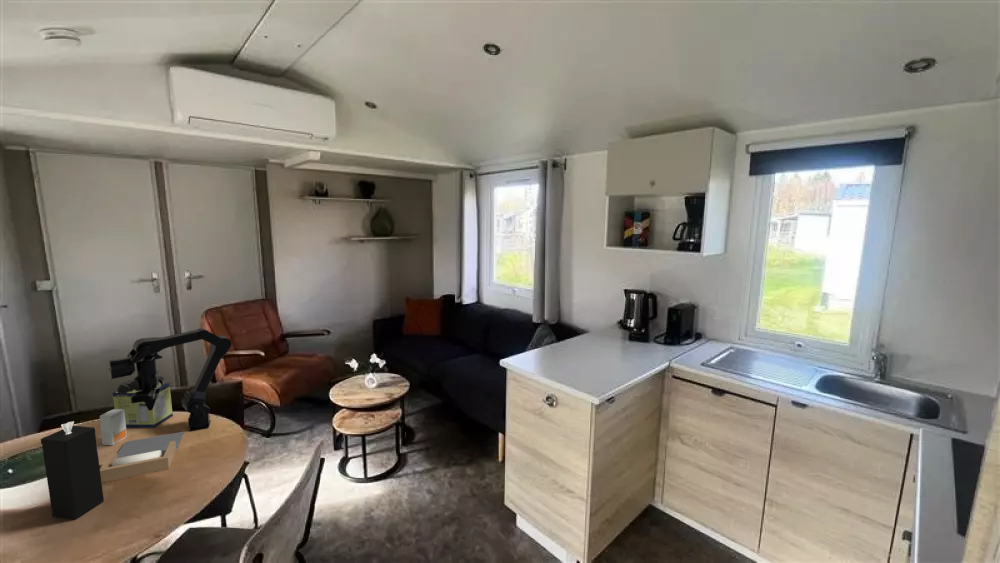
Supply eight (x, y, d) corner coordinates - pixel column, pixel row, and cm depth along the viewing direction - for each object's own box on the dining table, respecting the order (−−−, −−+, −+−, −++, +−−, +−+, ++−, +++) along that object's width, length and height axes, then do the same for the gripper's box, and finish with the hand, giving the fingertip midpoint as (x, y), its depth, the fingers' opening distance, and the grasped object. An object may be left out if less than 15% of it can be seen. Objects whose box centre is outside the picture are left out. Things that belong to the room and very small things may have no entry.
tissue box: (104, 501, 125) (93, 417, 121) (75, 520, 117) (63, 430, 113) (81, 499, 126) (70, 415, 122) (51, 517, 118) (38, 428, 114)
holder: (183, 433, 164) (182, 423, 164) (168, 468, 142) (167, 457, 141) (125, 443, 156) (124, 433, 155) (99, 483, 133) (98, 471, 133)
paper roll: (162, 457, 146) (160, 446, 145) (160, 468, 143) (157, 457, 141) (118, 465, 141) (115, 455, 139) (113, 477, 137) (110, 466, 135)
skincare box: (113, 445, 154) (109, 416, 153) (102, 445, 155) (98, 415, 153) (128, 437, 160) (124, 408, 159) (117, 436, 161) (114, 408, 159)
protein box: (136, 415, 177) (132, 382, 175) (173, 416, 178) (170, 382, 176) (115, 428, 167) (111, 392, 164) (155, 428, 168) (151, 392, 165)
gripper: (127, 366, 158) (131, 403, 161) (109, 384, 142) (114, 425, 145) (163, 362, 164) (166, 398, 166) (150, 379, 147) (154, 419, 150)
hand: (150, 409), depth 156 cm, fingers closed
